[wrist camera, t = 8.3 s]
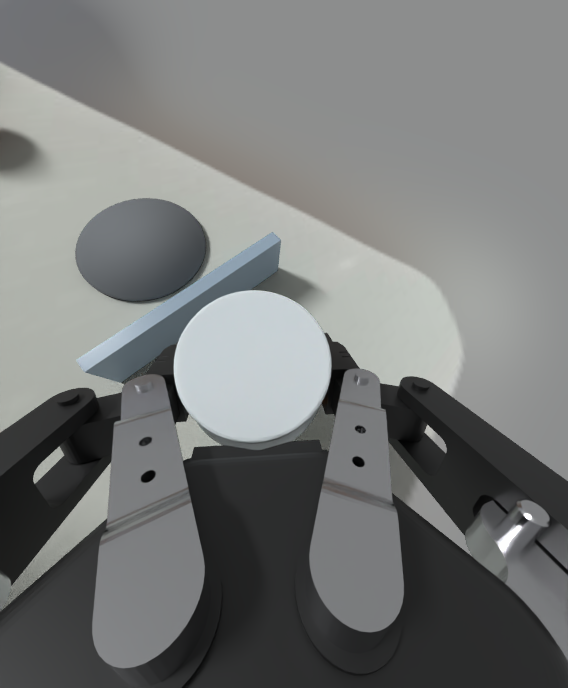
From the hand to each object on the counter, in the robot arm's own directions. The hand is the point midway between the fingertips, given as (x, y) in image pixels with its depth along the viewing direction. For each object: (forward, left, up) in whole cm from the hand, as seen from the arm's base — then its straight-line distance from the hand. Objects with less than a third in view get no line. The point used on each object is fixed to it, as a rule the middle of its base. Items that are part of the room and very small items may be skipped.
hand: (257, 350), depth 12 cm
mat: (0, +16, -7) cm, 18 cm away
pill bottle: (-1, -1, -5) cm, 5 cm away
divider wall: (0, +7, -7) cm, 10 cm away
